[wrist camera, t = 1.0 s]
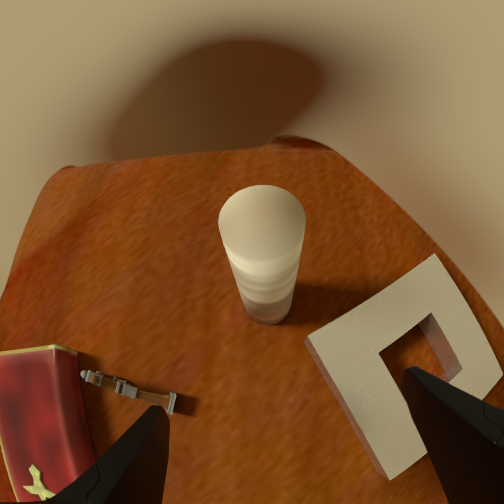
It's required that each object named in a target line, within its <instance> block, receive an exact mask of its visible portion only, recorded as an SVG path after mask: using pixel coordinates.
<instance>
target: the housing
mask: <svg viewBox="0 0 504 504" xmlns="http://www.w3.org/2000/svg"><path fill="white" fill-rule="evenodd" d="M416 324H418V325H419V327H420V328H421V330H422V332H423V334H424V335H425V337H426V339H427V340H428V342H429V344H430V346H431V347H432V349H433V351H434V353H435V355H436V356H437V358H438V360H439V362H440V364H441V366H442V367H443V369H444V371H445V373H444V374H443V375H442V376H441V377H440V379H441V380H443V381H445V382H447V383H449V384H451V385H453V386H455V387H457V388H459V389H461V390H463V391H465V392H467V393H469V394H471V395H473V396H475V397H477V398H479V399H481V400H482V399H483V398H484V397H485V396H486V395H487V394H488V392H489V391H490V390H491V389H492V388H493V386H494V385H495V384H496V383H497V382H498V380H499V379H500V378H501V377H502V375H503V372H502V370H501V368H500V366H499V363H498V361H497V359H496V357H495V355H494V353H493V351H492V348H491V346H490V344H489V342H488V340H487V338H486V337H485V335H484V333H483V331H482V329H481V327H480V325H479V323H478V322H477V320H476V318H475V316H474V314H473V313H472V311H471V309H470V307H469V306H468V304H467V302H466V301H465V299H464V297H463V296H462V294H461V292H460V291H459V289H458V288H457V286H456V284H455V283H454V281H453V280H452V278H451V277H450V275H449V274H448V272H447V271H446V269H445V268H444V266H443V265H442V263H441V262H440V260H439V259H438V257H437V256H436V254H435V253H434V254H433V255H432V256H430V257H429V258H428V259H426V260H425V261H424V262H422V263H421V264H419V265H418V266H417V267H415V268H414V269H412V270H411V271H410V272H408V273H407V274H405V275H404V276H403V277H401V278H400V279H398V280H397V281H395V282H394V283H392V284H391V285H389V286H388V287H386V288H385V289H383V290H382V291H380V292H379V293H377V294H376V295H374V296H373V297H371V298H370V299H368V300H367V301H365V302H363V303H362V304H360V305H359V306H357V307H355V308H354V309H352V310H351V311H349V312H347V313H346V314H344V315H342V316H341V317H339V318H337V319H336V320H334V321H332V322H331V323H329V324H327V325H325V326H324V327H322V328H320V329H318V330H317V331H315V332H313V333H311V334H310V335H308V336H307V337H306V339H305V340H304V344H305V346H306V347H307V349H308V351H309V353H310V355H311V356H312V358H313V360H314V362H315V363H316V365H317V367H318V369H319V370H320V372H321V374H322V376H323V377H324V379H325V381H326V383H327V384H328V386H329V388H330V390H331V391H332V393H333V395H334V397H335V398H336V400H337V402H338V404H339V405H340V407H341V409H342V411H343V412H344V414H345V416H346V418H347V419H348V421H349V423H350V425H351V426H352V428H353V430H354V432H355V433H356V435H357V437H358V439H359V440H360V442H361V444H362V446H363V447H364V449H365V451H366V453H367V454H368V456H369V458H370V460H371V461H372V463H373V465H374V467H375V468H376V470H377V472H378V473H380V474H381V475H383V476H384V477H386V478H387V479H388V480H391V479H393V478H394V477H396V476H397V475H399V474H400V473H401V472H403V471H404V470H406V469H407V468H408V467H410V466H411V465H412V464H414V463H415V462H416V461H417V460H419V459H420V458H421V457H423V456H424V455H425V454H426V453H427V450H426V448H425V446H424V443H423V441H422V439H421V437H420V435H419V433H418V431H417V428H416V426H415V424H414V422H413V420H412V417H411V414H410V412H409V409H408V406H407V403H406V401H405V399H404V398H403V396H402V394H401V392H400V390H399V389H398V387H397V385H396V383H395V381H394V380H393V378H392V376H391V374H390V373H389V371H388V369H387V367H386V366H385V364H384V362H383V360H382V359H381V357H380V355H379V352H380V351H382V350H383V349H384V348H386V347H387V346H389V345H390V344H391V343H393V342H394V341H395V340H397V339H398V338H399V337H401V336H402V335H403V334H405V333H406V332H407V331H409V330H410V329H411V328H412V327H414V326H415V325H416Z"/></svg>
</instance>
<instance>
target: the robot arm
mask: <svg viewBox="0 0 504 504" xmlns="http://www.w3.org/2000/svg"><path fill="white" fill-rule="evenodd" d="M401 389H402V392H403V394H404V397H405V400H406V403H407V406H408V409H409V412H410V414H411V417H412V420H413V422H414V424H415V426H416V428H417V431H418V433H419V435H420V437H421V439H422V441H423V443H424V446H425V448H426V450H427V452H428V454H429V457H430V459H431V461H432V463H433V466H434V468H435V470H436V473H437V475H438V477H439V480H440V482H441V485H442V487H443V490H444V492H445V495H446V497H447V500H448V502H449V504H504V410H502V409H500V408H497V407H495V406H493V405H491V404H489V403H487V402H485V401H482V400H481V399H479V398H477V397H475V396H473V395H471V394H469V393H467V392H465V391H463V390H461V389H459V388H457V387H455V386H453V385H451V384H449V383H447V382H445V381H443V380H441V379H440V378H438V377H436V376H434V375H432V374H430V373H428V372H426V371H424V370H422V369H420V368H419V367H417V366H412V367H409V368H406V369H405V370H404V374H403V378H402V382H401ZM169 433H170V421H169V418H168V416H167V414H166V412H165V410H164V408H163V407H162V406H160V405H152V406H150V407H149V408H148V409H147V410H146V411H145V412H144V413H143V414H142V415H141V416H140V417H139V418H138V419H137V421H136V422H135V423H134V424H133V425H132V426H131V427H130V428H129V429H128V430H127V431H126V432H125V433H124V434H123V435H122V436H121V437H120V438H119V439H118V440H117V441H116V442H115V443H114V444H113V445H112V446H111V447H110V448H109V449H108V450H107V451H106V452H105V453H104V454H103V455H102V456H101V457H100V458H99V459H98V460H97V461H96V462H95V463H94V464H93V465H92V466H91V467H90V468H89V469H87V470H86V471H85V472H84V473H83V474H82V475H81V476H80V477H78V478H77V479H76V480H75V481H73V482H72V483H71V484H69V485H68V486H67V487H65V488H64V489H63V490H61V491H60V492H59V493H57V494H56V495H54V496H53V497H51V498H49V499H46V500H42V501H31V502H0V504H162V498H163V491H164V485H165V478H166V471H167V465H168V458H169Z"/></svg>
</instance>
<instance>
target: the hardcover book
mask: <svg viewBox="0 0 504 504" xmlns="http://www.w3.org/2000/svg"><path fill="white" fill-rule="evenodd" d="M0 444H1V448H2V452H3V457H4V461H5V464H6V468H7V471H8V475H9V478H10V481H11V485H12V488H13V491H14V493H15V496H16V499H17V502H31V501H42V500H46V499H49V498H51V497H53V496H54V495H56V494H57V493H59V492H60V491H61V490H63V489H64V488H65V487H67V486H68V485H69V484H71V483H72V482H73V481H75V480H76V479H77V478H78V477H80V476H81V475H82V474H83V473H84V472H85V471H86V470H87V469H89V468H90V467H91V466H92V465H93V464H94V463H95V462H96V457H95V454H94V450H93V446H92V441H91V437H90V433H89V428H88V423H87V418H86V413H85V407H84V401H83V395H82V388H81V381H80V372H79V363H78V352H77V351H76V350H74V349H71V348H68V347H65V346H61V345H56V344H53V345H47V346H40V347H33V348H26V349H18V350H11V351H2V352H0Z"/></svg>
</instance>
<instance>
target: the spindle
mask: <svg viewBox="0 0 504 504" xmlns="http://www.w3.org/2000/svg"><path fill="white" fill-rule="evenodd" d="M305 226H306V217H305V212H304V209H303V207H302V205H301V204H300V202H299V201H298V200H297V198H295V197H294V196H293V195H292V194H291V193H289V192H288V191H286V190H284V189H281V188H279V187H275V186H269V185H257V186H252V187H248V188H245V189H242V190H240V191H238V192H237V193H235V194H234V195H233V196H231V197H230V198H229V199H228V200H227V201H226V203H225V204H224V206H223V207H222V209H221V212H220V215H219V230H220V234H221V237H222V240H223V243H224V246H225V249H226V252H227V255H228V258H229V262H230V265H231V268H232V271H233V274H234V277H235V280H236V283H237V286H238V289H239V292H240V295H241V298H242V301H243V304H244V307H245V310H246V312H247V314H248V316H249V317H250V318H251V319H252V320H253V321H255V322H256V323H259V324H262V325H273V324H276V323H279V322H280V321H282V320H283V319H284V318H285V317H286V316H287V314H288V313H289V310H290V307H291V302H292V297H293V292H294V287H295V282H296V276H297V271H298V266H299V260H300V254H301V249H302V243H303V237H304V231H305Z"/></svg>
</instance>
